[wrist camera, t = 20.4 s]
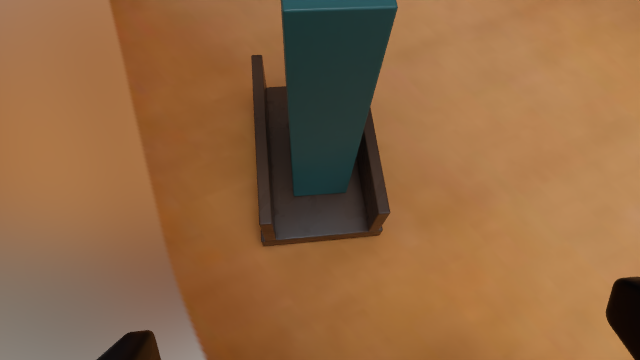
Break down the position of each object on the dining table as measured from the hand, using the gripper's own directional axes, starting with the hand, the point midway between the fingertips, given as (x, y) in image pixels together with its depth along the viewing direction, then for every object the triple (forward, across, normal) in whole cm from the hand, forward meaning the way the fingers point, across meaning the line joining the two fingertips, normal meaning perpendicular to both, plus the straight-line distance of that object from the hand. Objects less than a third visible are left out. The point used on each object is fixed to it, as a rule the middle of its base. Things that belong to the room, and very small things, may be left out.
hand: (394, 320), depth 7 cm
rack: (+17, 0, +2) cm, 17 cm away
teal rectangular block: (+16, 0, +2) cm, 16 cm away
